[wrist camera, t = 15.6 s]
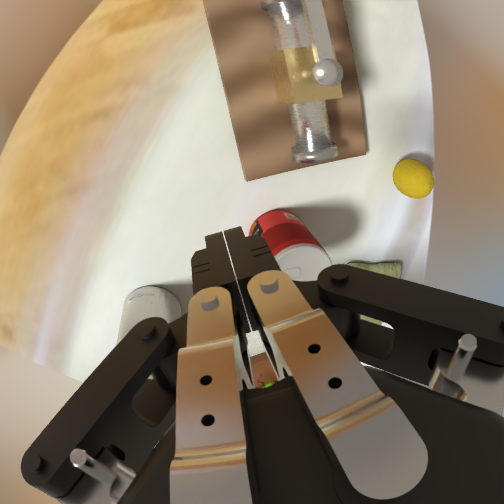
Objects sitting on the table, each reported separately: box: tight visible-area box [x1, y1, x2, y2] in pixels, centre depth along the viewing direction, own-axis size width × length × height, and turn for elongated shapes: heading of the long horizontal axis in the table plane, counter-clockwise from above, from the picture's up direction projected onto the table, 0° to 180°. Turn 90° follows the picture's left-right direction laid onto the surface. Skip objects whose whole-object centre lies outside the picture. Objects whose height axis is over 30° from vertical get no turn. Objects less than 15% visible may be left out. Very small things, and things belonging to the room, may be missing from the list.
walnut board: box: [203, 0, 366, 182], centre depth 33 cm, size 24×17×2 cm
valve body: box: [259, 0, 343, 163], centre depth 29 cm, size 20×6×9 cm, turn 12°
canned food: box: [249, 210, 332, 281], centre depth 39 cm, size 8×8×11 cm
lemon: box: [393, 159, 434, 199], centre depth 39 cm, size 6×6×8 cm
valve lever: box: [301, 0, 343, 87], centre depth 21 cm, size 14×3×2 cm, turn 12°
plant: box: [250, 352, 278, 388], centre depth 56 cm, size 20×20×11 cm
